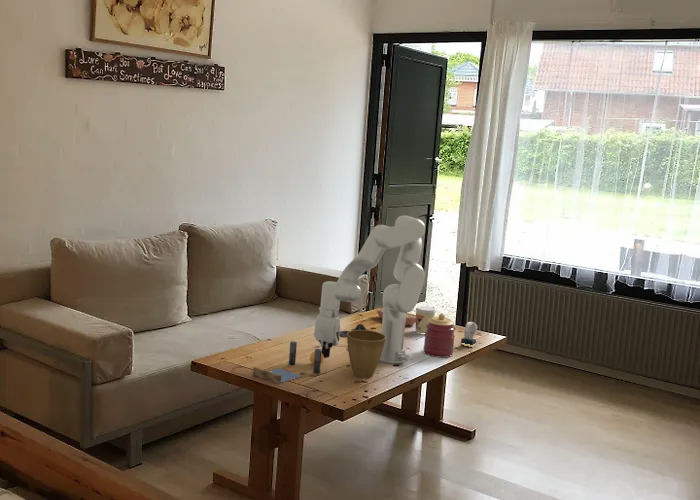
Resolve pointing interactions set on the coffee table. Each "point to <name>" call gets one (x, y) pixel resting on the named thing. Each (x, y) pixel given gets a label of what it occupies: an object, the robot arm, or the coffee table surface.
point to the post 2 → (317, 361)
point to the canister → (439, 336)
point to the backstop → (267, 375)
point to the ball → (313, 357)
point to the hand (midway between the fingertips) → (325, 357)
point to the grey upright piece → (469, 333)
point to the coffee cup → (423, 317)
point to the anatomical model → (409, 317)
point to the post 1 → (292, 353)
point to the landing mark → (285, 374)
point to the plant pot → (365, 351)
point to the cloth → (359, 327)
